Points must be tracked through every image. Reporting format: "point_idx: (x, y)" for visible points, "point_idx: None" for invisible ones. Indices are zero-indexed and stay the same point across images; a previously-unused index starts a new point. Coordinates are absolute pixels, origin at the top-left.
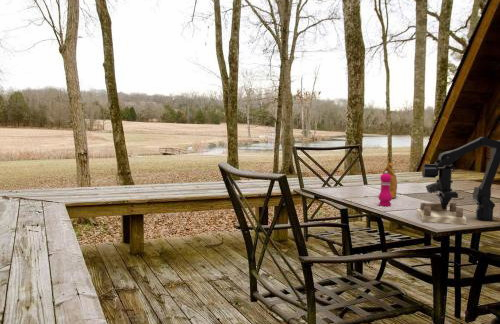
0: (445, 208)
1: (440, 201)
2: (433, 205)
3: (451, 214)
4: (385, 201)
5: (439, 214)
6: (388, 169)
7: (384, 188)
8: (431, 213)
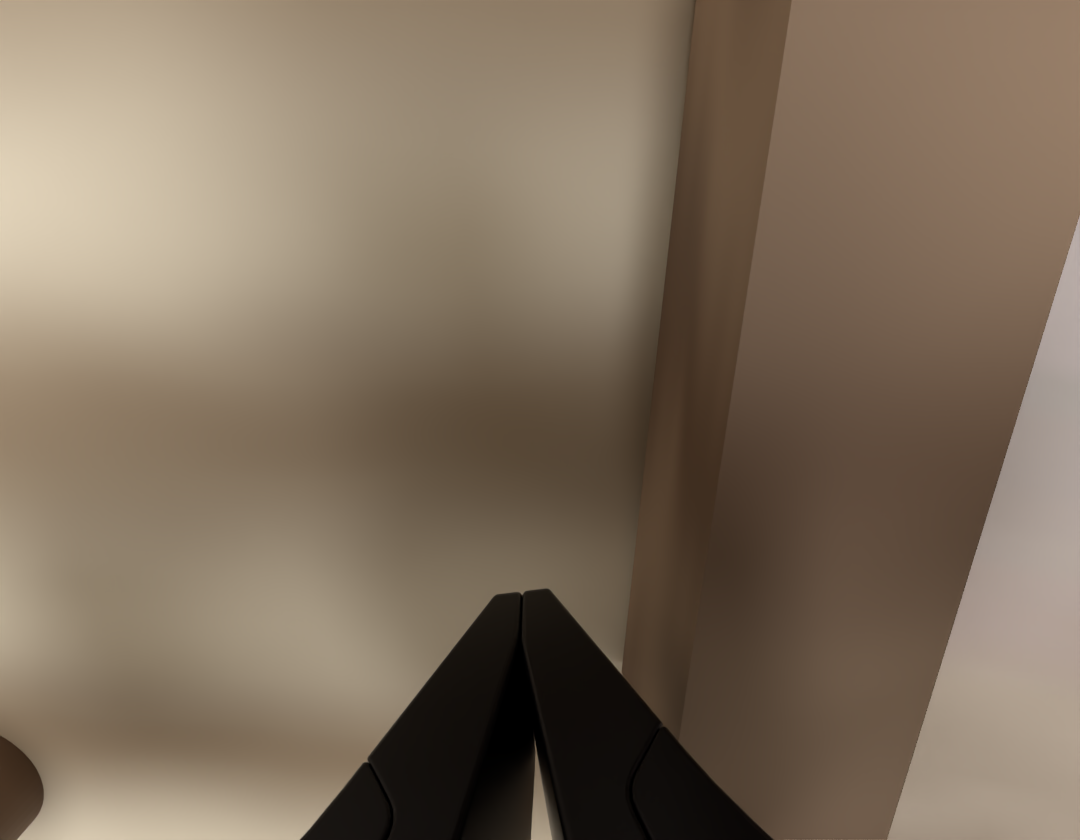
0: (637, 689)
1: (656, 760)
2: (715, 348)
3: (202, 683)
4: None
5: (53, 380)
6: None
7: None
8: (119, 147)
